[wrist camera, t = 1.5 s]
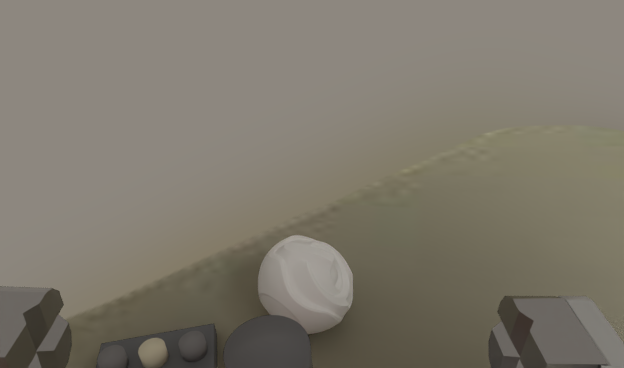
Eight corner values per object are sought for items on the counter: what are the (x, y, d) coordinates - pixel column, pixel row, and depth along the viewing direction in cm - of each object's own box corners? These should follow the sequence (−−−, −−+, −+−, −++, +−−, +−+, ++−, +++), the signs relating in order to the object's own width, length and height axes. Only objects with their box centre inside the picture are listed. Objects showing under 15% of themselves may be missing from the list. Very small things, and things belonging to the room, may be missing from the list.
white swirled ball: (348, 360, 39) (344, 287, 35) (253, 351, 40) (239, 280, 36) (357, 286, 45) (355, 217, 41) (276, 280, 47) (266, 213, 42)
